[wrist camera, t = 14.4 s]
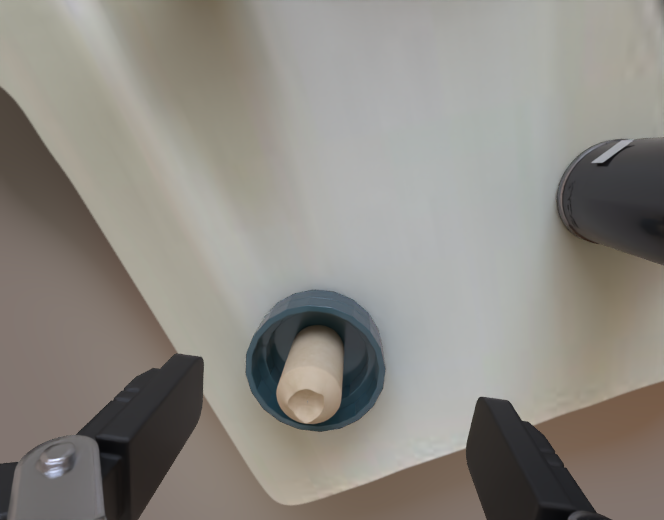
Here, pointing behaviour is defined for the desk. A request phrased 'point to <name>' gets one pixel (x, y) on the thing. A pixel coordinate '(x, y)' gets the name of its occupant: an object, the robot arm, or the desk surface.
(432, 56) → the desk surface
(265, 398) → the bowl
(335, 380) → the candle
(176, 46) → the desk surface
